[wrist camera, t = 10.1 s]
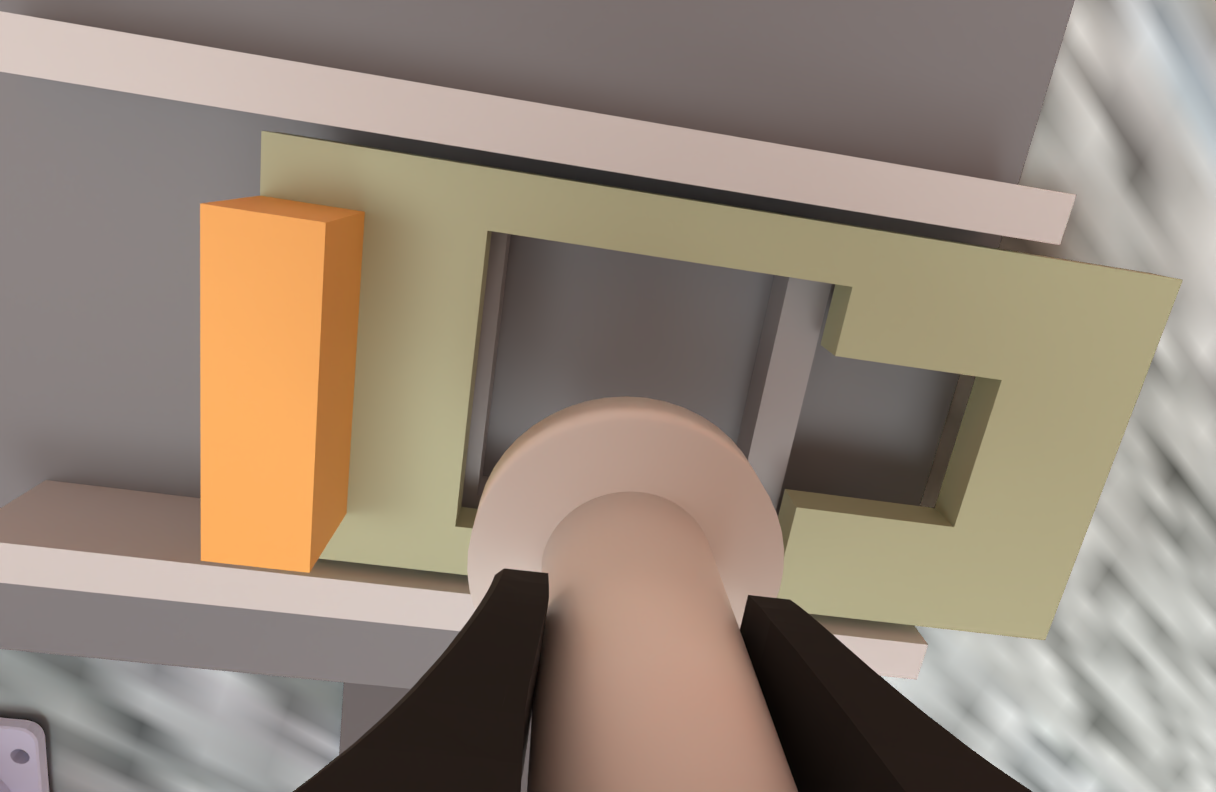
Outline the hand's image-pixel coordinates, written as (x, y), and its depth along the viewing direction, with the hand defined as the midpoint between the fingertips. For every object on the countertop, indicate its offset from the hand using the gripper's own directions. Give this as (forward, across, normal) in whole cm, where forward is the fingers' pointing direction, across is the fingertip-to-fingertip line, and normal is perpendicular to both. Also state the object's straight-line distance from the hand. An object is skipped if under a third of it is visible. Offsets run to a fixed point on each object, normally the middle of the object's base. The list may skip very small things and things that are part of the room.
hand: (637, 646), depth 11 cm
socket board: (+10, +4, -1) cm, 11 cm away
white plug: (+3, 0, 0) cm, 3 cm away
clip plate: (+8, -2, -1) cm, 8 cm away
